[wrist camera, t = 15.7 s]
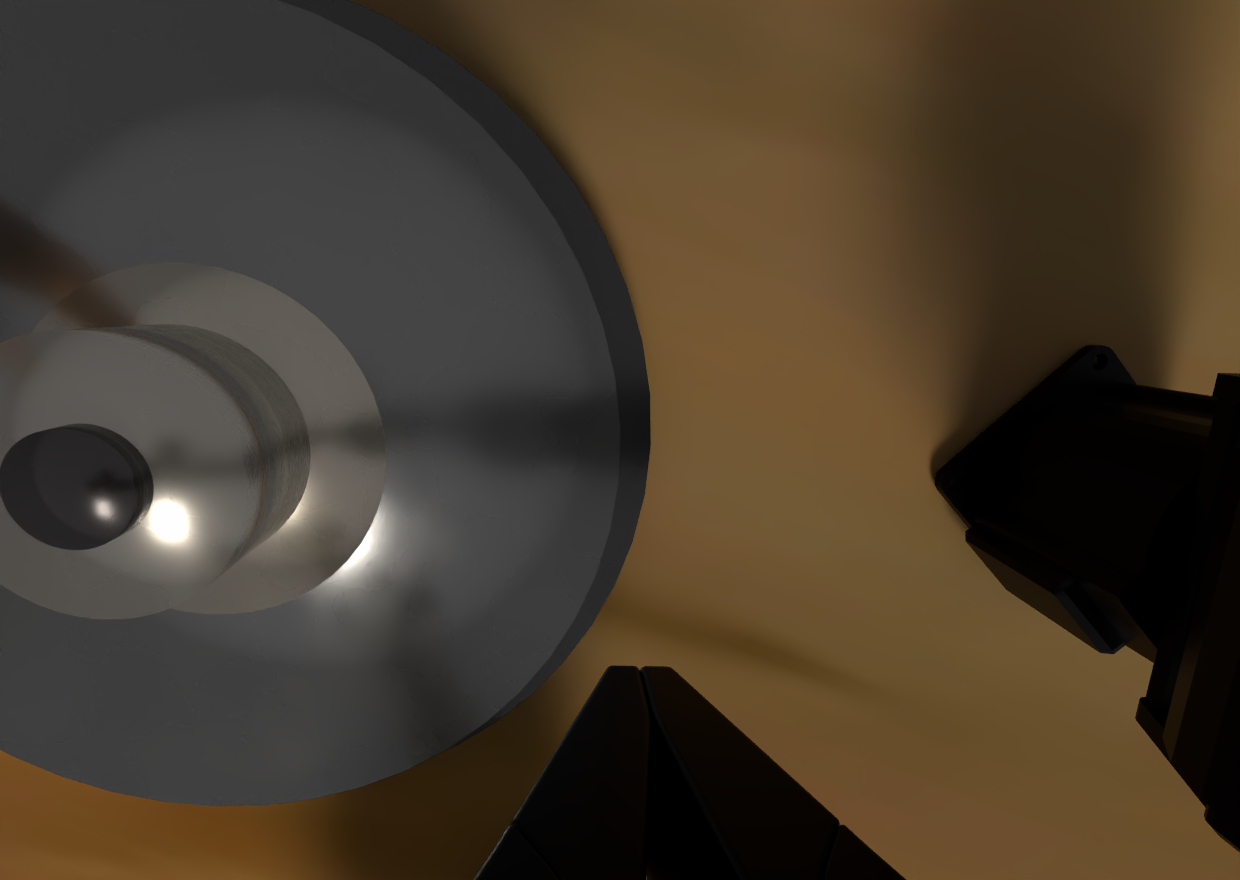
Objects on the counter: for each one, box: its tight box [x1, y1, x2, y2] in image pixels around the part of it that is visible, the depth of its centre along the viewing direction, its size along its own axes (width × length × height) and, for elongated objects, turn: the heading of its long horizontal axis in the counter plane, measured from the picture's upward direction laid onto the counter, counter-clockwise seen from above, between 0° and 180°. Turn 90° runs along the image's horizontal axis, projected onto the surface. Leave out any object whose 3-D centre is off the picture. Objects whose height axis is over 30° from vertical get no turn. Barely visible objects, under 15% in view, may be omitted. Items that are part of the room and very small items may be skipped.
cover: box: [0, 324, 311, 619], centre depth 14 cm, size 6×6×4 cm
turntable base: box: [279, 0, 651, 754], centre depth 18 cm, size 23×23×1 cm
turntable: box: [0, 0, 620, 806], centre depth 15 cm, size 21×21×5 cm
